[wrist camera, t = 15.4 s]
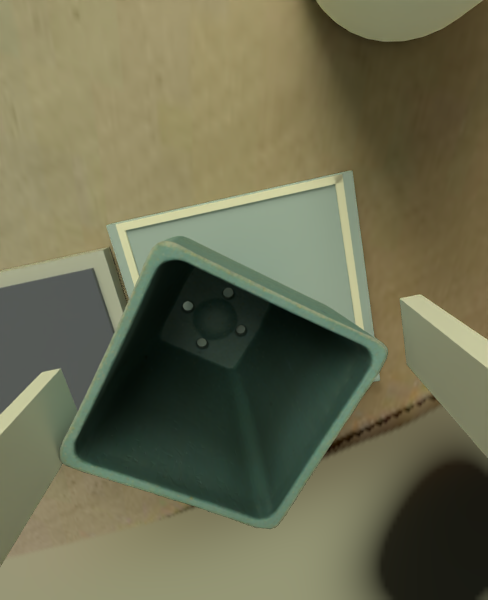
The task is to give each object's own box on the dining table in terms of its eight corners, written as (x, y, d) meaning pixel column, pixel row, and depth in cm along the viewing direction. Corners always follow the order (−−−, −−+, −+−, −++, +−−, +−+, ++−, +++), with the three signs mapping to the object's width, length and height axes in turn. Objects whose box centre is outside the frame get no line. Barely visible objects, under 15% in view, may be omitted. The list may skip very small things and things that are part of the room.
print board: (169, 411, 26) (166, 420, 25) (111, 223, 22) (105, 225, 21) (376, 374, 25) (381, 381, 24) (348, 170, 21) (353, 170, 20)
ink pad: (-8, 460, 27) (-21, 474, 26) (-89, 289, 24) (-107, 296, 22) (166, 429, 26) (162, 442, 25) (109, 246, 23) (100, 251, 21)
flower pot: (249, 410, 24) (275, 538, 16) (107, 354, 22) (51, 465, 14) (322, 282, 22) (396, 349, 14) (174, 208, 21) (156, 234, 12)
